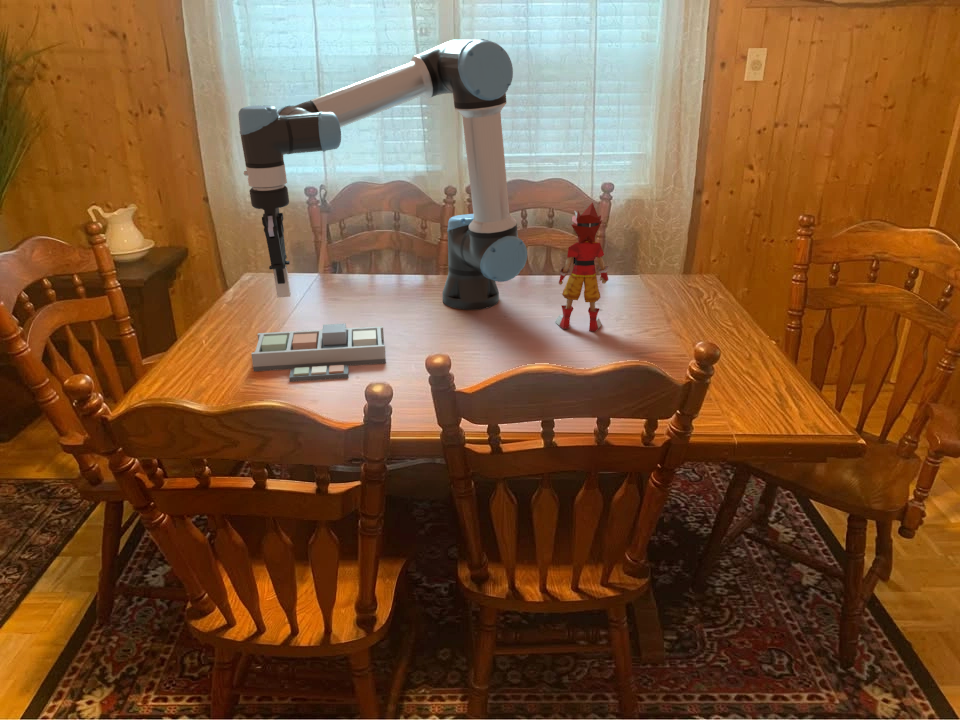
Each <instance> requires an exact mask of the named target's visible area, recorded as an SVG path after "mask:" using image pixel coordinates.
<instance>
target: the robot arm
mask: <svg viewBox="0 0 960 720" xmlns="http://www.w3.org/2000/svg"><path fill="white" fill-rule="evenodd" d="M513 77H514V69H513V63H512V61H511V57H510V56H509V53H508V52H507V51H506V49H505V48H503V46H501V45H500V44H498V42H497V43H496V42H494V41H491V40H488V39H484V38H471V39H470V38H469V39H467V38H455V39H451V40H449V41H445V42H444V43H441V44H439V45H437V46H434V47H432V48H429V49H427V50H425V51H423V52H421V53H418V54H415V55H413V56H412V57H411V59H410V62H407V63H406V64H403V65H400V66H397V67H395V68H391V69H389V70H387V71H384V72H381V73H378V74H376V75H374V76H371V77H368V78H365V79H362V80H360V81H358V82H355V83H354V82H353V83H352V84H349V85H347V86H344V87H341V88H339V89H336V90H333V91H331V92H328V93H326V94H325V93H324V94H322V95H319V96H318V97H317V96H316V97H314V98H312V99H310V100H307V101H304V102H302V103H299V104H297V105H290V104H289V105H285V106H283V107H280V109H277V107H275V106H274V105H269V104H268V105H267V104H266V105H263V104H262V105H250V106H249V105H248V106H244V107H241V108H240V110H239V111H238V115H237V116H238V123H239V125H238V126H239V135H240V141H241V146H242V151H243V157H244V164H245V169H246V170H245V171H243V175H244V176H246V177H247V181H248V182H247V183H248V186H249V187H251V188H250V189H249V196H250V197H249V198H250V205H251V206H252V207H253V208H254V209H257V210H263V211H264V213H263V214H262V216H261V222H262V226H263V227H264V228H263V232H264V235H265V239H266V243H267V244H266V245H267V248H268V254H269V259H270V260H269V261H270V265H269V270H272V272H273V277H274V285H275V291H276V296H277V298H289V297H291V288H290V287H291V286H290V281H289V272H288V266H289V265H290V264H291V263H290V260H287V258H288V257H287V253H286V243H285V233H284V232H285V229H284V228H285V227H284V213H283V212H280V209H282V208H284V207H286V206H288V205H289V204H290V198H289V197H290V196H289V190H288V187H287V186H286V184H288V181H287V179H288V178H287V174H286V165H285V160H284V156H285V155H292V154H301V153H302V154H303V153H315V152H323V153H324V152H326V151H331V150H337V149H338V148H339V147H340V146H341V143H342V131H341V130H342V129H341V128H343V127H345V126H347V125H350V124H353V123H355V122H358V121H362V120H363V119H366V118H369V117H370V116H374V115H376V114H378V113H381V112H384V111H387V110H390V109H392V108H394V107H398V106H400V105H402V104H404V103H407V102H410V101H413V100H415V99H418V98H419V97H424V98H426V99H431V98H433V97H435V96H440V95H443V94H452V98H453V106H454V109H455V111H456V112H458V113H459V114H460V115H461V116H462V125H463V133H464V142H465V143H464V145H465V151H466V160H467V161H466V162H467V168H468V177H469V187H470V196H471V203H472V212H473V213H468V214H458V215H452V217H449V219H448V222H447V230H446V232H447V251H448V252H447V255H448V259H447V260H448V274H447V277H446V280H445V283H444V286H443V289H442V302H443V304H444V305H446V306H448V307H449V308H453V309H458V310H467V311H468V310H469V311H470V310H471V311H473V310H475V311H477V310H483V309H488V308H491V307H494V306H496V305H497V304H498V303H499V302H500V292H499V289H498V286H497V283H496V282H500V283H502V282H508V281H511V280H512V279H514V278H516V277H517V276H518V275H519V274H520V272H521V271H522V270H523V269H524V268H525V266H526V264H527V261H528V249H527V245H526V244H525V242H524V241H523V240H522V238H520V237H519V233H518V223H517V222H518V221H517V220H516V219H515V218H514V217H513V216H512V215H510V206H509V203H510V202H509V193H508V183H507V182H508V180H507V169H506V159H505V147H504V137H503V135H504V134H503V128H502V127H503V126H502V125H503V124H502V114H501V112H502V110H503V108H504V107H505V105H506V104H507V94H506V93H507V92H508V91H509V87H510V86H511V85H512V82H513ZM287 265H288V266H287Z"/></svg>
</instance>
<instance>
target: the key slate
mask: <svg viewBox="0 0 960 720" xmlns="http://www.w3.org/2000/svg"><path fill="white" fill-rule="evenodd" d="M346 328H347V324H346V323H345V322H344V323H334V324H333V323H330V324H329V323H327V324H322V329H321V330H322V338H323V345H333V344H346V342H347V333H346Z"/></svg>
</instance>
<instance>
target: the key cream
mask: <svg viewBox="0 0 960 720" xmlns="http://www.w3.org/2000/svg"><path fill="white" fill-rule="evenodd" d="M353 345H354V346H371V345H376V330H367V331H353Z"/></svg>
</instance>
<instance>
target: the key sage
mask: <svg viewBox="0 0 960 720" xmlns="http://www.w3.org/2000/svg"><path fill="white" fill-rule="evenodd" d="M287 344H288V338H287V335H277V336H264V338H263V341H262V345H261V346H262V352H269V351H286V349H287Z"/></svg>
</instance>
